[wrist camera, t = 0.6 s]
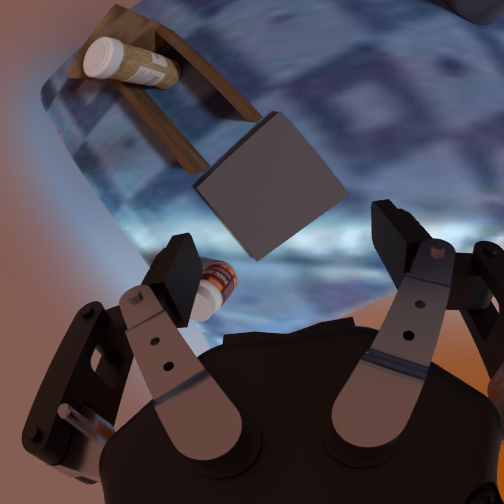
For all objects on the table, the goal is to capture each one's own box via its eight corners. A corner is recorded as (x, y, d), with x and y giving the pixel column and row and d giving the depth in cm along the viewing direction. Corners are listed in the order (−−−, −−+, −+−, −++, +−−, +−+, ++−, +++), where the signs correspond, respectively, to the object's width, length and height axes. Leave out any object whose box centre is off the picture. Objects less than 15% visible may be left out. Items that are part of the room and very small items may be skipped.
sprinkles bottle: (183, 57, 30) (114, 30, 18) (180, 88, 31) (108, 72, 19) (155, 62, 31) (84, 43, 19) (152, 91, 32) (78, 81, 20)
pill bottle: (241, 265, 38) (216, 296, 30) (236, 295, 40) (212, 329, 32) (208, 256, 39) (177, 283, 31) (205, 286, 41) (177, 316, 33)
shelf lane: (172, 30, 28) (115, 3, 18) (262, 117, 30) (223, 103, 19) (128, 81, 33) (65, 73, 22) (204, 171, 35) (147, 185, 24)
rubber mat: (281, 112, 29) (279, 111, 29) (348, 193, 30) (348, 194, 30) (199, 187, 36) (196, 188, 35) (258, 259, 37) (257, 261, 36)
